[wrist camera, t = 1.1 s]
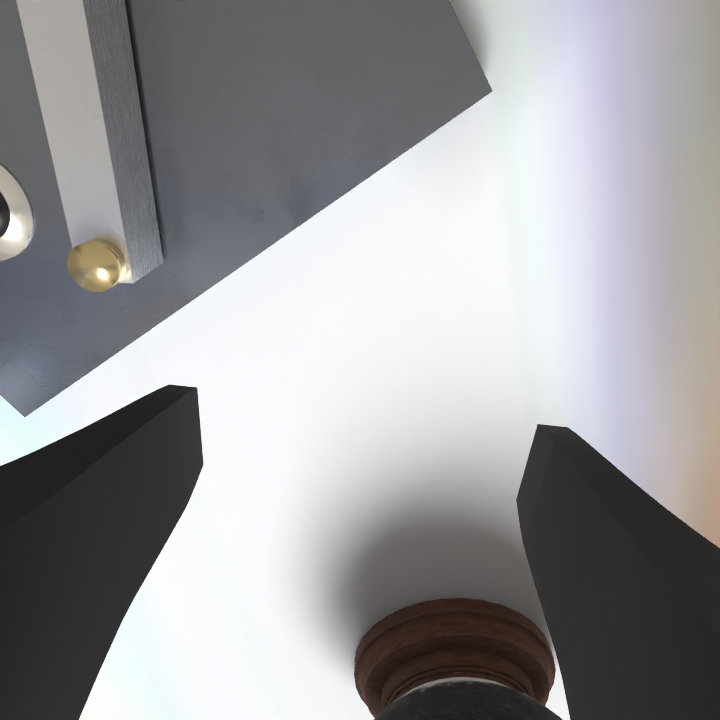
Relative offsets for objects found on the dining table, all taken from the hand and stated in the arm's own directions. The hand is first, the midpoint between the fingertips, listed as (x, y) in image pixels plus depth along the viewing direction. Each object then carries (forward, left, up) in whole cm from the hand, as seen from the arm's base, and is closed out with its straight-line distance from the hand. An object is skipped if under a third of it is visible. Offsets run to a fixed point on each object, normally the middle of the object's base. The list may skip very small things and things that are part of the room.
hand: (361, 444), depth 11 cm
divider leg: (-2, +10, -8) cm, 13 cm away
